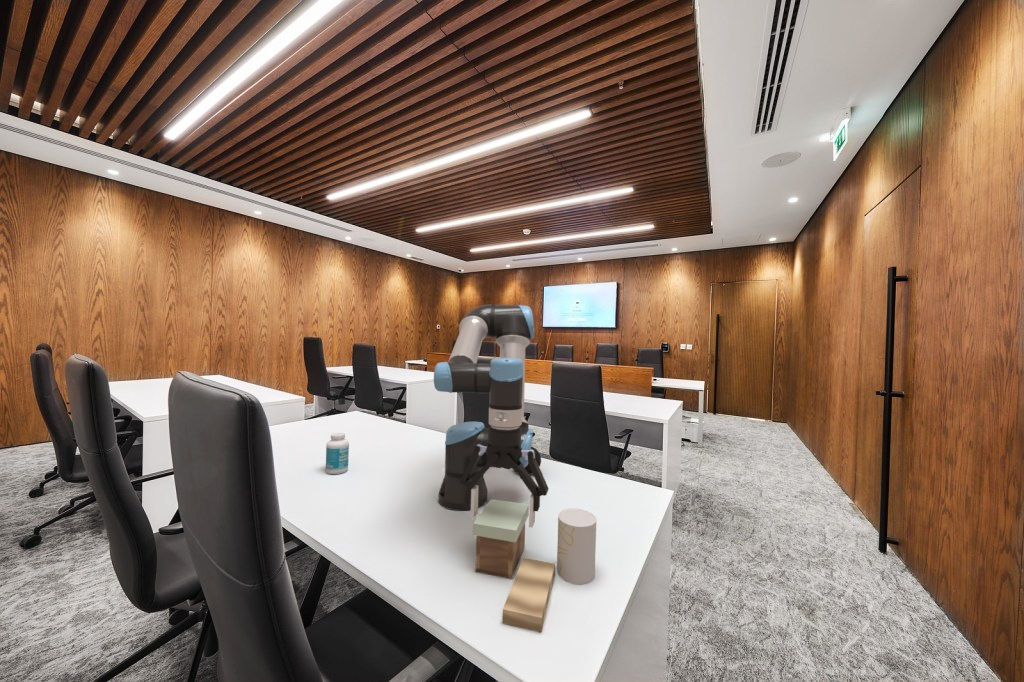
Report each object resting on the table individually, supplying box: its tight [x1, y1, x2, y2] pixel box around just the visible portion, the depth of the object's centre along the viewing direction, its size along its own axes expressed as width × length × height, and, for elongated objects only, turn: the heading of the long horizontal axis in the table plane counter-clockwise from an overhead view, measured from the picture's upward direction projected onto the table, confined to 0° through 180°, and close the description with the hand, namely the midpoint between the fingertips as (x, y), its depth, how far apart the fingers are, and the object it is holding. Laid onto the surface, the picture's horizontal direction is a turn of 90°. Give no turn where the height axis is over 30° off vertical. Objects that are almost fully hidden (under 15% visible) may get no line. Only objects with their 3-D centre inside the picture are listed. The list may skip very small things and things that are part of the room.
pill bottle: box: [325, 432, 350, 475], centre depth 135 cm, size 8×7×14 cm
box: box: [475, 523, 526, 580], centre depth 85 cm, size 12×8×8 cm, turn 165°
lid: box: [472, 498, 530, 542], centre depth 85 cm, size 12×10×3 cm
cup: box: [556, 508, 597, 586], centre depth 81 cm, size 8×8×12 cm
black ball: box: [524, 446, 542, 475], centre depth 138 cm, size 10×10×10 cm
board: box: [501, 557, 556, 633], centre depth 73 cm, size 16×7×2 cm, turn 165°
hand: (502, 520), depth 84 cm, fingers open, 13 cm apart
